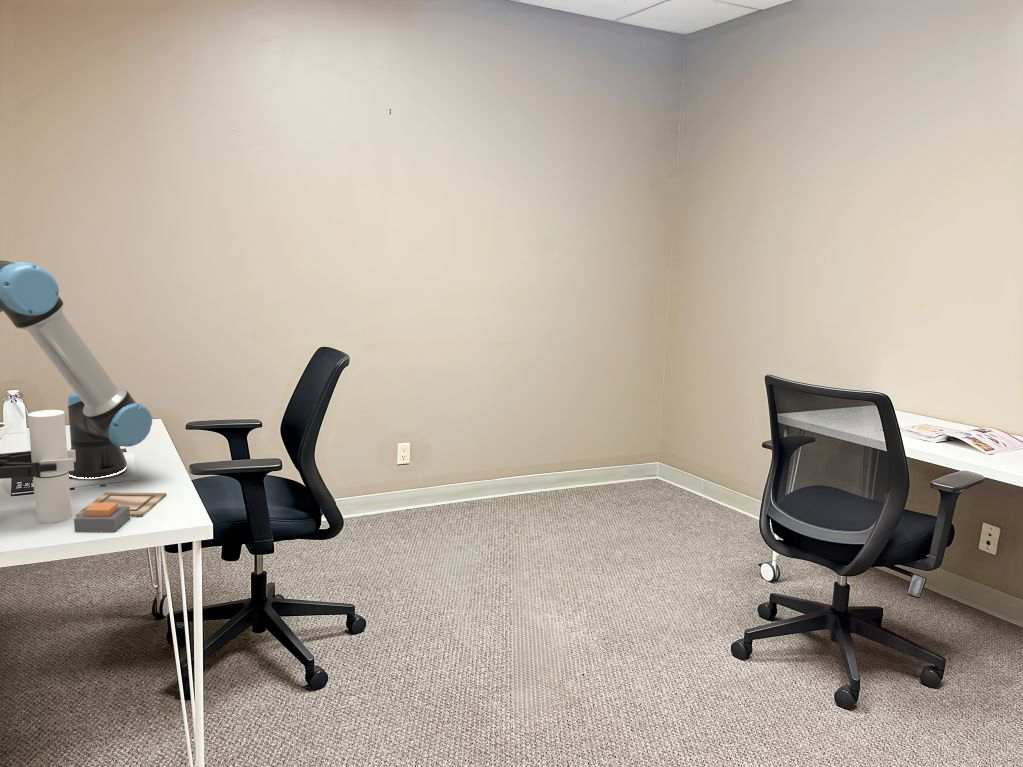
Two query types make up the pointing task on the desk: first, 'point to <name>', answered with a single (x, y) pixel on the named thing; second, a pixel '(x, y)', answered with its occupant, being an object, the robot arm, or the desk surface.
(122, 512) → the button housing
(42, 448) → the cylindrical container
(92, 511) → the button
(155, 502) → the picture board
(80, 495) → the desk surface
